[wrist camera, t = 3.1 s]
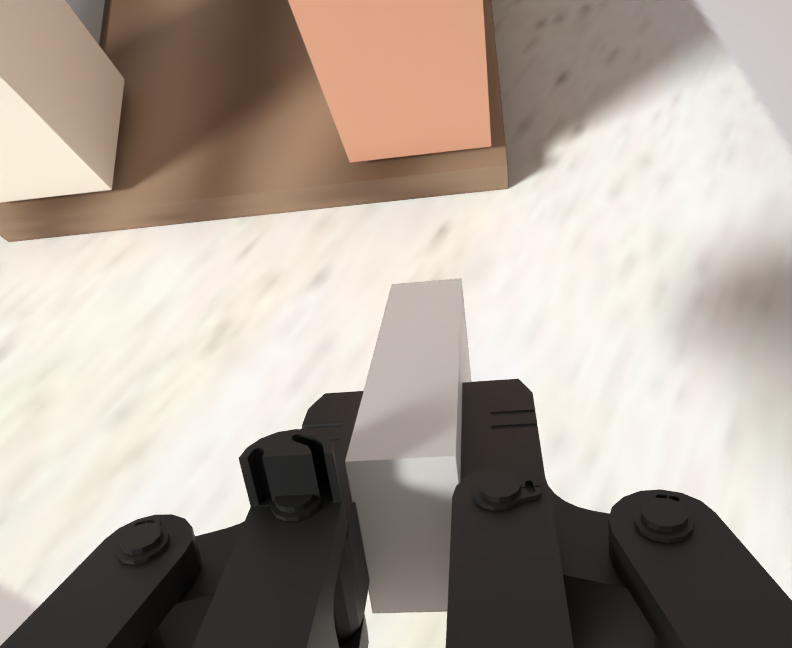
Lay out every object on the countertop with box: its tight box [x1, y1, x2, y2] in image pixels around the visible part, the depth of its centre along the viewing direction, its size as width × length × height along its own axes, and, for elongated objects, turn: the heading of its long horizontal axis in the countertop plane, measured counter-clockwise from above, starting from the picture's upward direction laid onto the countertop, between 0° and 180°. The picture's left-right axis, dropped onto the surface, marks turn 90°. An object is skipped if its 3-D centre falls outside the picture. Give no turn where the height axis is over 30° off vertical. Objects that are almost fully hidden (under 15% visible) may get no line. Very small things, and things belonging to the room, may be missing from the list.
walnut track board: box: [0, 0, 508, 242], centre depth 31 cm, size 20×14×2 cm
